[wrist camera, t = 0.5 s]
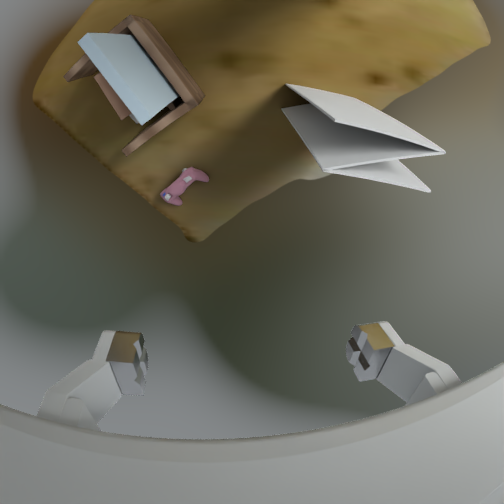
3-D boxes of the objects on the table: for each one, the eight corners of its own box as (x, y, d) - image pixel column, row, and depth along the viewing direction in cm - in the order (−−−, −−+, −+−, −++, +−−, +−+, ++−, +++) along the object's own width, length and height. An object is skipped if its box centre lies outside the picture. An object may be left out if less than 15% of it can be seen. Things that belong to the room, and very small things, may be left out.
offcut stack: (134, 50, 40) (117, 50, 33) (170, 98, 47) (159, 106, 41) (107, 72, 42) (87, 77, 35) (143, 118, 49) (128, 130, 43)
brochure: (281, 110, 50) (322, 171, 27) (285, 83, 46) (334, 118, 23) (349, 122, 51) (430, 192, 28) (354, 98, 48) (445, 151, 25)
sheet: (147, 36, 38) (87, 32, 20) (187, 89, 46) (152, 117, 28) (140, 41, 39) (77, 42, 20) (180, 94, 47) (141, 125, 28)
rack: (148, 19, 36) (130, 14, 28) (205, 95, 47) (198, 104, 40) (88, 69, 40) (63, 76, 33) (142, 139, 52) (126, 156, 44)
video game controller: (200, 162, 58) (184, 163, 51) (212, 178, 58) (198, 182, 52) (169, 190, 62) (152, 194, 55) (180, 206, 62) (164, 212, 56)
